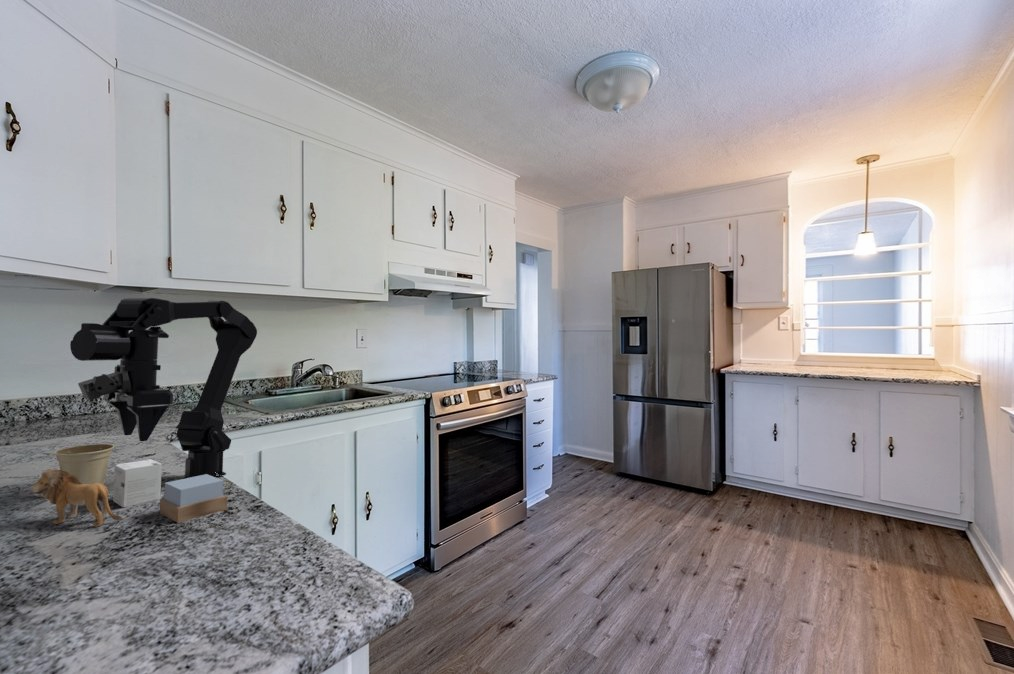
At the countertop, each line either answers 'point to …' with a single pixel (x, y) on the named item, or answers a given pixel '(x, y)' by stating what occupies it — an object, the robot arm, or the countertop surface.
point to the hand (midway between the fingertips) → (135, 438)
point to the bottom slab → (192, 509)
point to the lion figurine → (73, 495)
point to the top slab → (193, 490)
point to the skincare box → (137, 482)
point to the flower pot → (86, 461)
